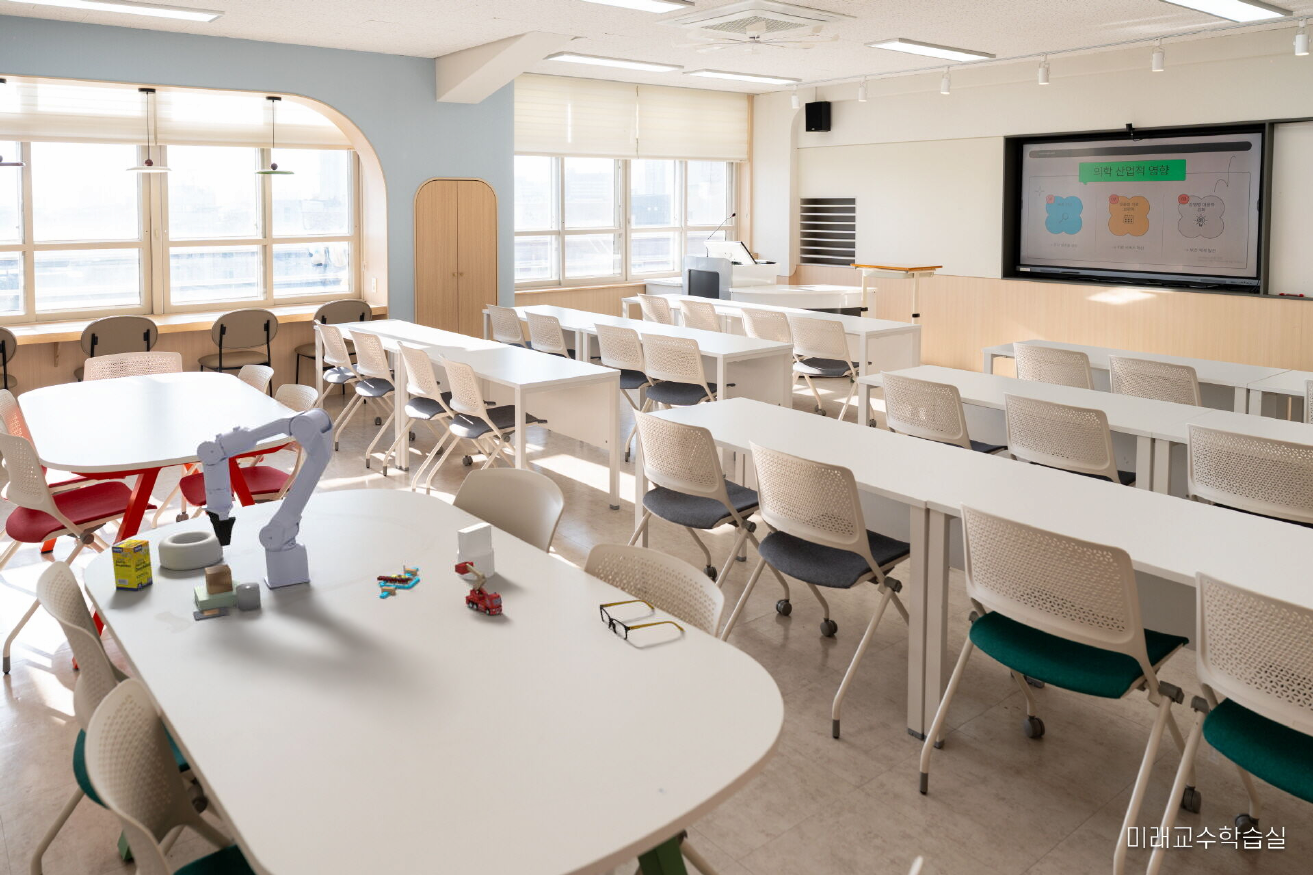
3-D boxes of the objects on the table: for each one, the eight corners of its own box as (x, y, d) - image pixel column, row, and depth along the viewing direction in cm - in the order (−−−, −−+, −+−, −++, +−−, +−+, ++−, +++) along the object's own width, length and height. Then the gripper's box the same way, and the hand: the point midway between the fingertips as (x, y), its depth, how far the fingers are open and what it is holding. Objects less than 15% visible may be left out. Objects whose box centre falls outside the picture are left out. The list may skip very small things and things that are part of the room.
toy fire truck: (492, 617, 231) (491, 576, 229) (455, 601, 240) (454, 562, 238) (504, 613, 233) (503, 572, 231) (467, 598, 242) (465, 558, 240)
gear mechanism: (360, 598, 244) (398, 601, 242) (359, 576, 242) (396, 579, 241) (395, 570, 263) (430, 572, 261) (394, 549, 262) (429, 551, 260)
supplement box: (137, 591, 247) (132, 547, 245) (115, 589, 248) (110, 546, 246) (154, 582, 253) (149, 540, 250) (132, 581, 254) (127, 538, 251)
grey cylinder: (260, 601, 240) (259, 581, 239) (261, 609, 236) (259, 588, 235) (237, 604, 239) (235, 584, 237) (237, 612, 234) (235, 591, 233)
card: (226, 607, 237) (226, 605, 237) (229, 614, 233) (229, 612, 233) (193, 612, 234) (193, 611, 234) (195, 620, 229) (195, 618, 229)
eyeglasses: (596, 621, 230) (595, 604, 229) (654, 609, 236) (654, 593, 235) (623, 644, 217) (623, 626, 216) (684, 632, 224) (684, 614, 223)
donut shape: (147, 570, 262) (144, 544, 261) (183, 551, 277) (180, 527, 275) (201, 573, 260) (199, 547, 258) (235, 554, 274) (232, 530, 273)
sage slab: (240, 591, 248) (239, 579, 248) (247, 604, 240) (246, 592, 239) (195, 599, 243) (193, 587, 243) (200, 613, 235) (199, 600, 234)
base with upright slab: (476, 565, 265) (474, 520, 262) (502, 572, 260) (500, 526, 257) (450, 575, 258) (448, 528, 255) (476, 582, 253) (474, 535, 250)
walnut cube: (229, 584, 245) (227, 564, 244) (232, 590, 240) (231, 570, 239) (206, 588, 242) (204, 567, 241) (209, 594, 238) (207, 574, 237)
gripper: (196, 482, 254) (201, 535, 257) (203, 496, 242) (208, 551, 245) (227, 478, 257) (232, 531, 260) (235, 492, 245) (240, 547, 248)
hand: (223, 541), depth 253 cm, fingers open, 7 cm apart
